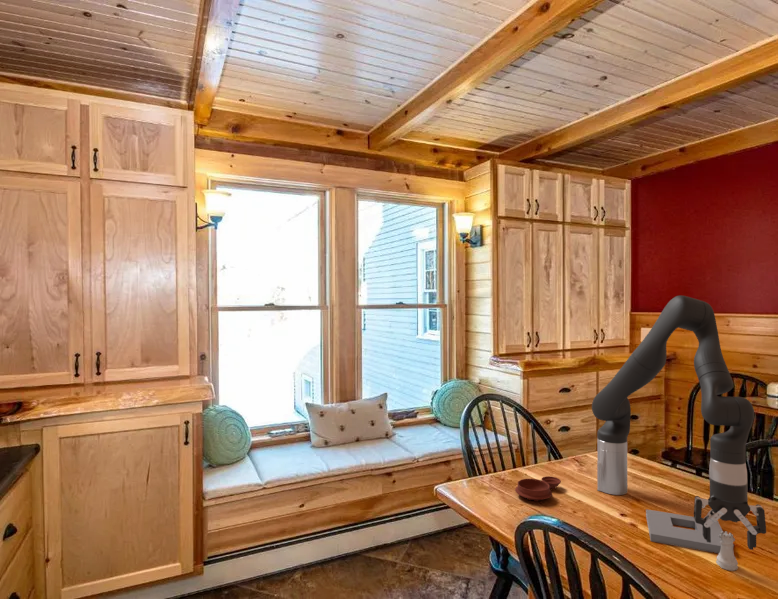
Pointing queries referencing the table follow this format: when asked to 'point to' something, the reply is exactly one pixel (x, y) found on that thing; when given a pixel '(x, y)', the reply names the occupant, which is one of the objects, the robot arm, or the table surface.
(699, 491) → the table surface
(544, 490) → the pottery
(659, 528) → the socket dock
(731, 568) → the rook chess piece
